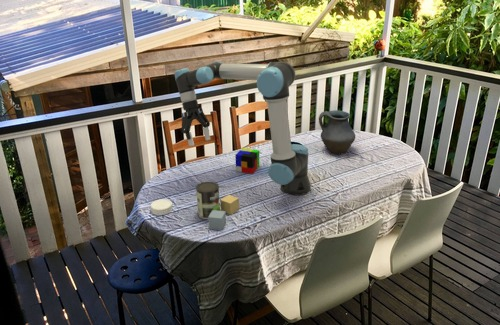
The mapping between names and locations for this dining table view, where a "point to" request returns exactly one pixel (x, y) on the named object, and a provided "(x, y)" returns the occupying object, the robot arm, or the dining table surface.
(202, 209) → the coffee can
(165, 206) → the cream disc
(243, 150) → the puzzle toy
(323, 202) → the dining table surface
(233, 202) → the ochre block
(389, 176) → the dining table surface
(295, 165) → the robot arm
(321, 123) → the pitcher
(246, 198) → the dining table surface
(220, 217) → the slate block
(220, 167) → the dining table surface
